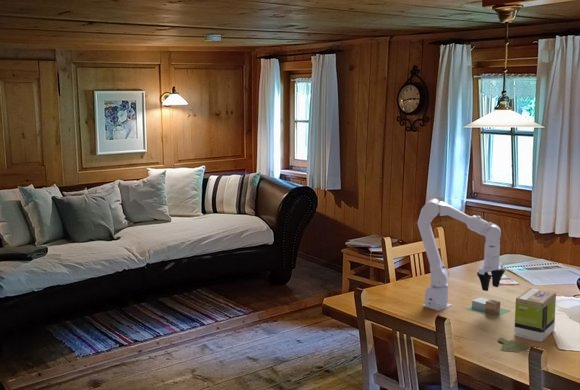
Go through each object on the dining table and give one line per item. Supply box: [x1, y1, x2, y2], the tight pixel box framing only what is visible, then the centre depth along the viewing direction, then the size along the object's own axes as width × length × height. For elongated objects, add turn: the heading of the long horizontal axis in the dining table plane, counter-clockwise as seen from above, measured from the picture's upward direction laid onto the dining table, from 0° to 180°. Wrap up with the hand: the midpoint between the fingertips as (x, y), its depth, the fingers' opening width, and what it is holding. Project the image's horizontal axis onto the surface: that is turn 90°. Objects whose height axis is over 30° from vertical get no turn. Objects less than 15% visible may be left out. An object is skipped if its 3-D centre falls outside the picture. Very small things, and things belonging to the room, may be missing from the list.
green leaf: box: [497, 337, 531, 354], centre depth 218 cm, size 11×18×1 cm, turn 36°
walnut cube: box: [485, 298, 501, 316], centre depth 252 cm, size 4×4×5 cm
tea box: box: [513, 287, 557, 343], centre depth 232 cm, size 15×10×15 cm
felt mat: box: [466, 306, 511, 319], centre depth 257 cm, size 12×13×1 cm
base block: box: [471, 297, 489, 311], centre depth 259 cm, size 6×6×3 cm
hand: (490, 288), depth 254 cm, fingers open, 7 cm apart
